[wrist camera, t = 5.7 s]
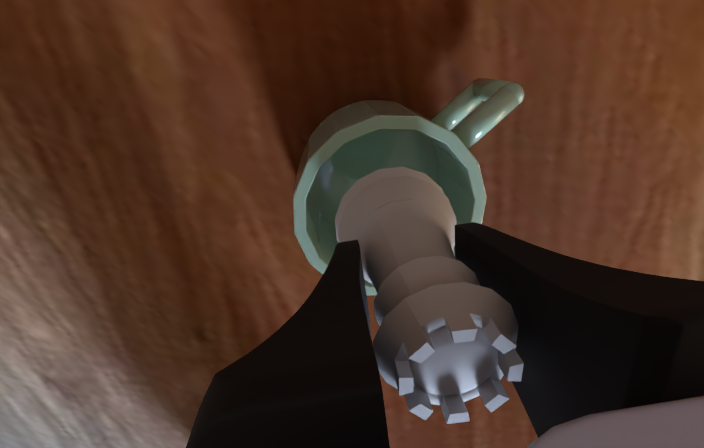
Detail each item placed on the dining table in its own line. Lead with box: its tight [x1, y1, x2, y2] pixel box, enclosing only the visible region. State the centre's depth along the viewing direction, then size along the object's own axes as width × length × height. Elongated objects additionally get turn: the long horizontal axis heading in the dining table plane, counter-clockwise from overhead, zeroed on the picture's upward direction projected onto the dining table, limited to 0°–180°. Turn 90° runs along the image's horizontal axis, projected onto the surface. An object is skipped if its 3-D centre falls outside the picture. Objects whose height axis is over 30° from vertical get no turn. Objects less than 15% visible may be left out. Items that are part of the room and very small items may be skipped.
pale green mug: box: [293, 78, 525, 295], centre depth 17 cm, size 11×8×6 cm
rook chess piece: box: [335, 167, 524, 424], centre depth 11 cm, size 4×4×8 cm
